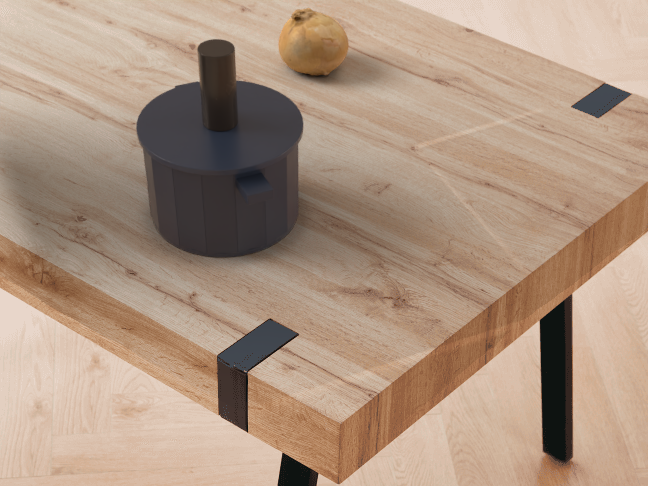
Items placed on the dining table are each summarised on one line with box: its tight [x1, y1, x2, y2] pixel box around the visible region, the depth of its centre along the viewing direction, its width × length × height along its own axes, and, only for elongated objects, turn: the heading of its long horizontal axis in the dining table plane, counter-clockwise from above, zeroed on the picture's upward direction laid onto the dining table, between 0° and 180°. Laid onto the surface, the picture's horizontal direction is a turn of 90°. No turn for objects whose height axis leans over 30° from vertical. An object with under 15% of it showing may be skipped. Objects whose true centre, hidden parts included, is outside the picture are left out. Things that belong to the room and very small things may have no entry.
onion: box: [277, 7, 350, 76], centre depth 123 cm, size 8×8×7 cm
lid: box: [135, 38, 304, 176], centre depth 95 cm, size 15×15×9 cm
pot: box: [142, 80, 299, 258], centre depth 101 cm, size 14×19×10 cm
